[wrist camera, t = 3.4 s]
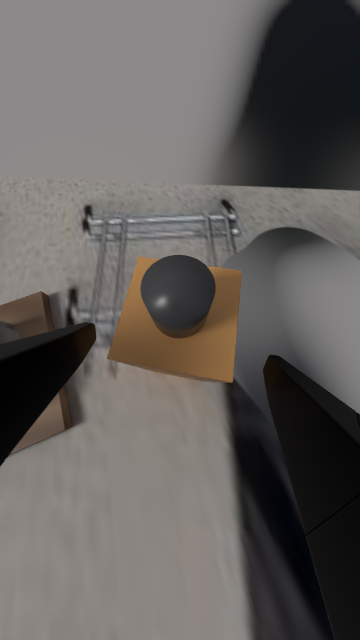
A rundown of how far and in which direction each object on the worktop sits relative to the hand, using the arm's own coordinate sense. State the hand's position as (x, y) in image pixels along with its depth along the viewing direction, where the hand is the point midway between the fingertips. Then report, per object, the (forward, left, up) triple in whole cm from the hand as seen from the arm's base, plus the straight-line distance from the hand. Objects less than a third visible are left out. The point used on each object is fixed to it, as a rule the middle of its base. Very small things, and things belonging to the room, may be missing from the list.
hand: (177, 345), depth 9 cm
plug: (0, -1, -9) cm, 9 cm away
